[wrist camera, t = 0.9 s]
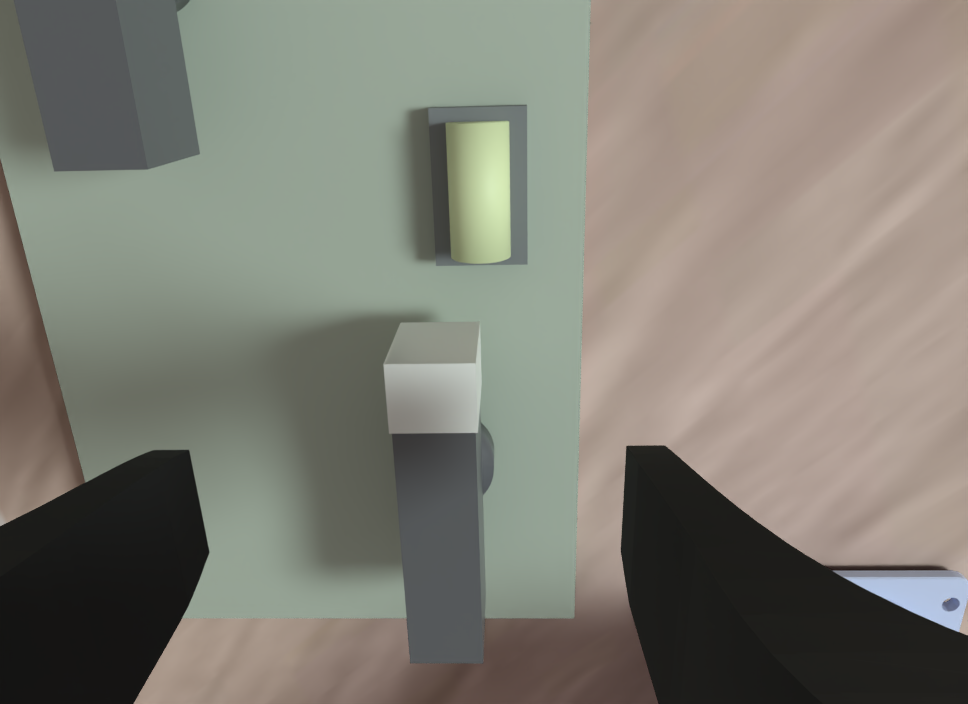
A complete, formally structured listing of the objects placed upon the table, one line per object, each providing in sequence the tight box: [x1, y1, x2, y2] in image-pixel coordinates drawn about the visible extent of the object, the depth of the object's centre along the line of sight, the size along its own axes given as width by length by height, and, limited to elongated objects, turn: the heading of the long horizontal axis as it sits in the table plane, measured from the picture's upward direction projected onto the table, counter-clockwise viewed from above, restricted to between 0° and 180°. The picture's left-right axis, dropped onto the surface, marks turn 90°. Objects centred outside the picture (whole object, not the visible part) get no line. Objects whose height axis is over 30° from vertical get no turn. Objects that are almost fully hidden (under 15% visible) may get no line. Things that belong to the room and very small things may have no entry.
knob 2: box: [383, 321, 494, 663], centre depth 18 cm, size 8×2×4 cm, turn 1°
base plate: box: [0, 0, 591, 618], centre depth 18 cm, size 24×14×3 cm, turn 1°
